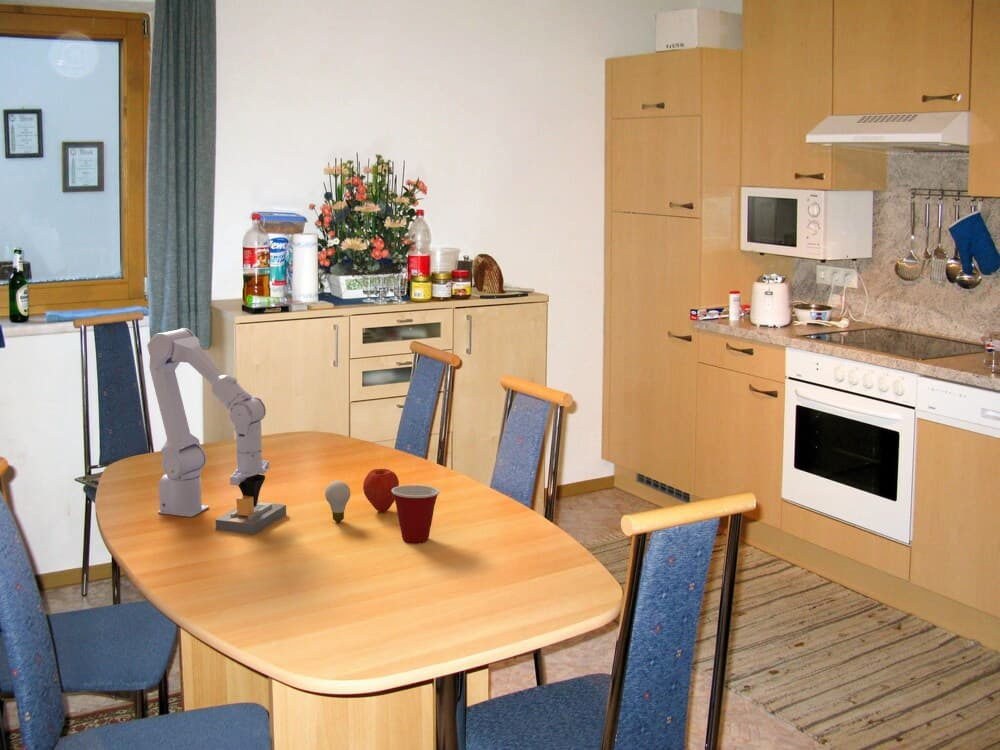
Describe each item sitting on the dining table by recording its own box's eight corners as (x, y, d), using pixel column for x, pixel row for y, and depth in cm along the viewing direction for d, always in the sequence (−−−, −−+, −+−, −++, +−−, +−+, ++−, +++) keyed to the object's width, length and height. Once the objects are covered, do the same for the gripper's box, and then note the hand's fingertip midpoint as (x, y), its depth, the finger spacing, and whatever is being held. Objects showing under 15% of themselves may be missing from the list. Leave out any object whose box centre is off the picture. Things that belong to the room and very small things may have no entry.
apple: (357, 514, 269) (356, 471, 266) (374, 504, 276) (373, 462, 274) (389, 519, 265) (388, 475, 263) (405, 508, 273) (405, 466, 271)
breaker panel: (215, 529, 257) (215, 516, 256) (249, 510, 271) (249, 497, 270) (254, 534, 254) (253, 521, 253) (286, 514, 268) (285, 501, 267)
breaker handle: (237, 514, 258) (236, 498, 258) (242, 511, 261) (241, 495, 260) (248, 516, 258) (247, 499, 257) (253, 513, 260) (253, 496, 259)
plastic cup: (447, 534, 255) (447, 484, 253) (428, 550, 245) (428, 498, 243) (403, 529, 258) (403, 479, 256) (383, 544, 248) (383, 492, 246)
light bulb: (346, 526, 260) (345, 485, 258) (322, 525, 261) (321, 484, 259) (354, 518, 265) (353, 478, 263) (330, 517, 266) (329, 476, 264)
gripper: (248, 459, 251) (250, 517, 253) (280, 444, 264) (281, 499, 267) (221, 457, 253) (223, 514, 256) (253, 441, 266) (255, 496, 269)
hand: (251, 506), depth 261 cm, fingers closed
